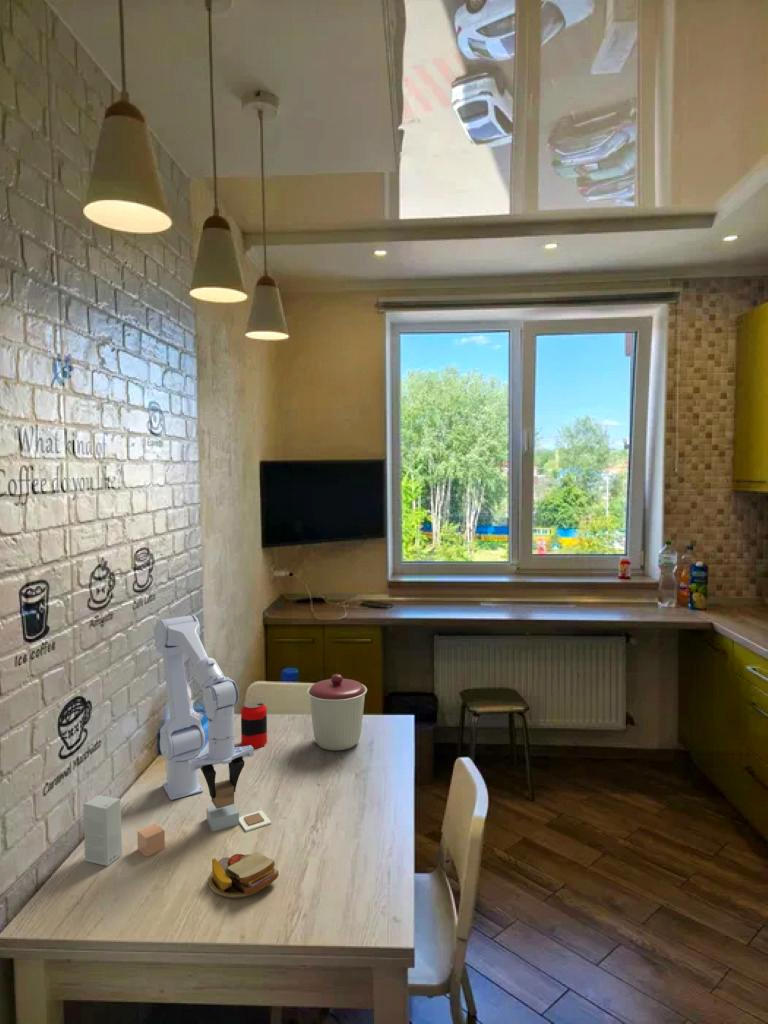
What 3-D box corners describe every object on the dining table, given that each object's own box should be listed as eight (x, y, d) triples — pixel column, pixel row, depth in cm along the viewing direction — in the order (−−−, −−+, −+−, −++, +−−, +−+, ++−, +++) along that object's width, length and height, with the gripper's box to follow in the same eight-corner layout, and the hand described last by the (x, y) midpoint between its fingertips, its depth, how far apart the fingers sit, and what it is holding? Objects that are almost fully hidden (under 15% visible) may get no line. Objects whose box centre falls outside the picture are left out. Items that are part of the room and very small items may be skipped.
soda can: (264, 749, 174) (263, 708, 174) (238, 749, 174) (238, 709, 174) (269, 738, 182) (268, 700, 181) (245, 738, 182) (244, 700, 181)
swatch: (237, 819, 136) (237, 816, 136) (261, 811, 139) (261, 808, 139) (245, 831, 131) (245, 828, 131) (271, 823, 134) (271, 820, 134)
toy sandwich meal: (258, 852, 124) (258, 830, 124) (287, 886, 113) (287, 862, 113) (199, 875, 117) (199, 852, 116) (225, 914, 106) (224, 888, 106)
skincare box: (122, 855, 123) (121, 798, 123) (107, 867, 119) (105, 809, 119) (100, 849, 125) (98, 793, 125) (83, 861, 121) (82, 804, 121)
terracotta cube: (137, 849, 125) (137, 831, 125) (155, 841, 128) (155, 823, 128) (146, 857, 122) (146, 838, 122) (164, 848, 125) (164, 830, 125)
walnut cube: (211, 801, 136) (211, 784, 136) (228, 796, 138) (228, 779, 138) (216, 808, 132) (216, 791, 132) (234, 803, 134) (234, 786, 134)
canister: (315, 730, 188) (315, 664, 187) (371, 733, 185) (371, 666, 184) (300, 755, 170) (299, 682, 169) (361, 758, 167) (361, 685, 166)
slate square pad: (206, 820, 137) (206, 807, 137) (232, 813, 139) (232, 800, 139) (212, 833, 131) (212, 819, 131) (239, 825, 134) (238, 812, 134)
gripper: (193, 748, 128) (195, 810, 128) (258, 733, 135) (258, 791, 136) (185, 737, 134) (186, 796, 134) (247, 723, 141) (248, 779, 142)
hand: (222, 793), depth 135 cm, fingers closed on walnut cube, 4 cm apart
